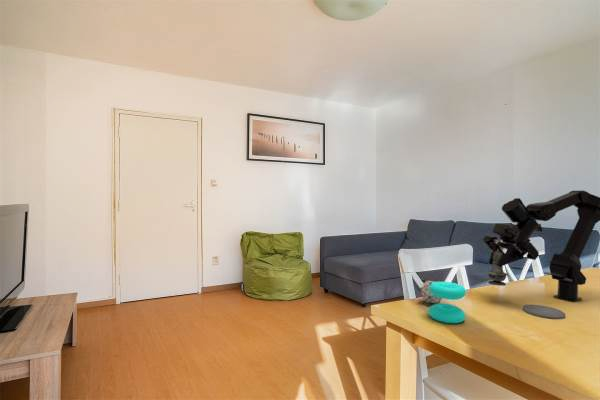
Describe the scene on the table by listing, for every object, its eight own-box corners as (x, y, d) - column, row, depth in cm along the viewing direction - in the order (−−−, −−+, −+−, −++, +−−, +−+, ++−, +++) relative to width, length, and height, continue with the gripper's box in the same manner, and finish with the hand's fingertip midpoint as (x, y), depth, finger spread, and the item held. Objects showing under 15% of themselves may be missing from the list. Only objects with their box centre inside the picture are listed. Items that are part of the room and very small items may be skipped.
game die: (432, 316, 113) (429, 297, 107) (414, 300, 120) (410, 281, 114) (453, 302, 114) (451, 282, 109) (434, 287, 121) (431, 267, 116)
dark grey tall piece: (510, 286, 114) (510, 250, 113) (490, 285, 115) (491, 249, 114) (503, 282, 119) (504, 247, 119) (484, 280, 120) (485, 247, 120)
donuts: (422, 282, 103) (445, 279, 107) (421, 315, 103) (444, 310, 108) (449, 291, 94) (473, 287, 98) (448, 327, 94) (472, 321, 99)
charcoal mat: (532, 305, 115) (532, 302, 115) (571, 315, 106) (571, 312, 106) (515, 310, 109) (515, 307, 109) (555, 321, 100) (555, 318, 100)
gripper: (487, 214, 127) (461, 244, 124) (532, 217, 108) (502, 253, 106) (505, 234, 128) (479, 265, 126) (551, 241, 110) (522, 277, 108)
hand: (494, 264), depth 117 cm, fingers closed on dark grey tall piece, 3 cm apart
